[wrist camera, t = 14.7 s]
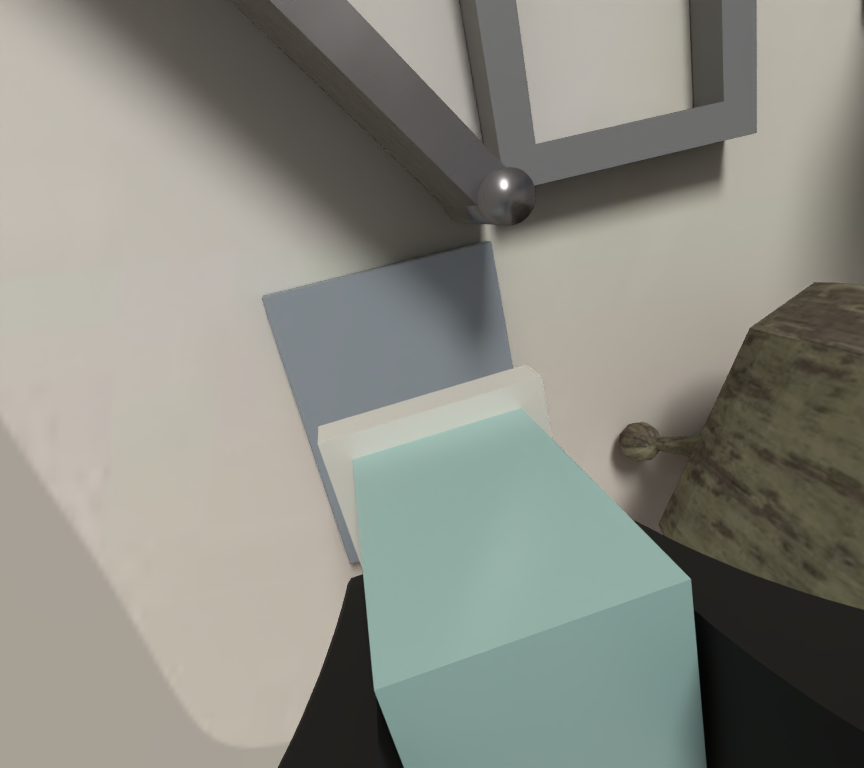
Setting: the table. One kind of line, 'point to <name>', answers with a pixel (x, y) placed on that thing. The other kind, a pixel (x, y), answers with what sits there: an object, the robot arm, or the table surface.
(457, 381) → the mat
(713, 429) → the tabletop clock
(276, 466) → the table surface
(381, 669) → the plug
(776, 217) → the table surface
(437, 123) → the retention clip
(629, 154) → the dock
